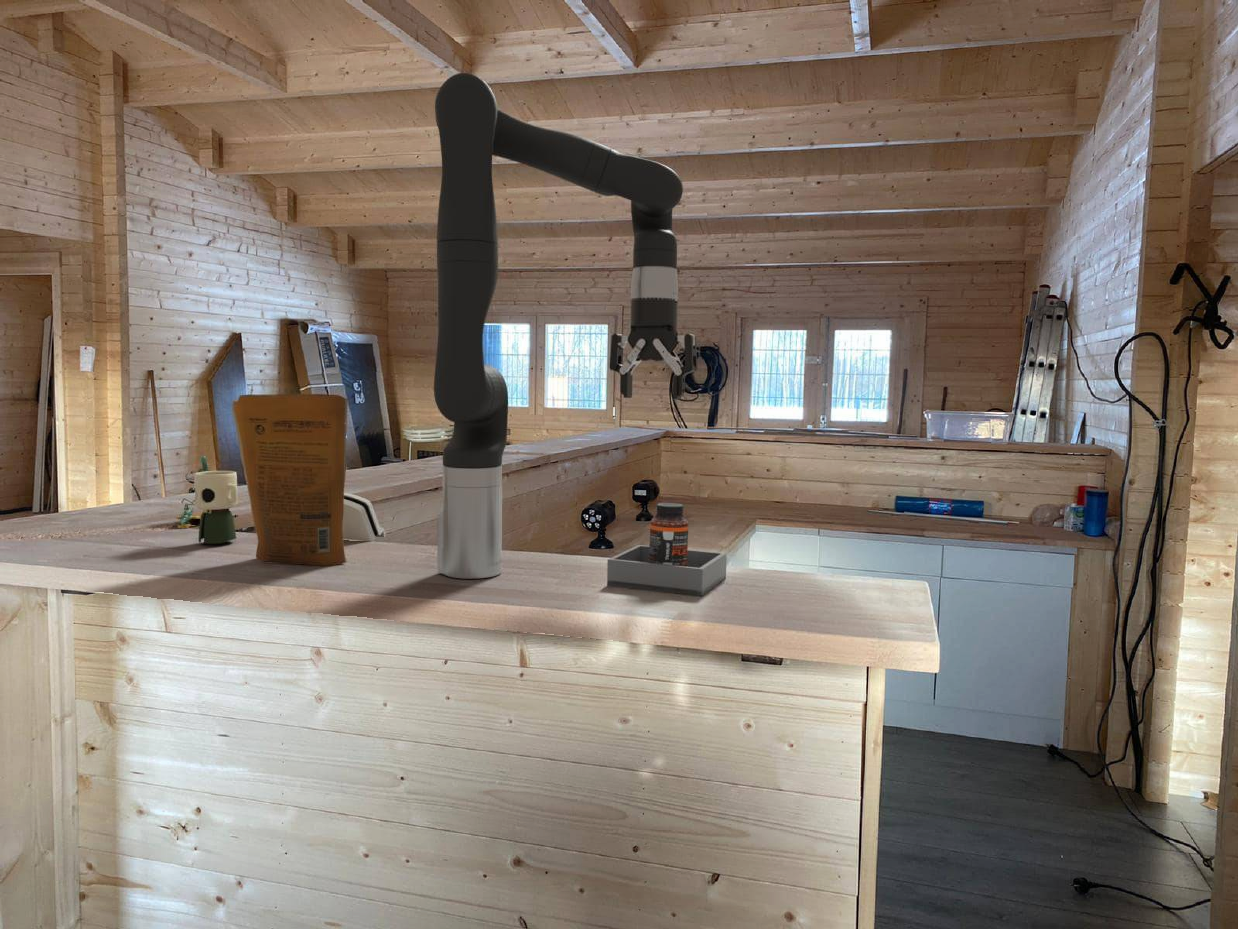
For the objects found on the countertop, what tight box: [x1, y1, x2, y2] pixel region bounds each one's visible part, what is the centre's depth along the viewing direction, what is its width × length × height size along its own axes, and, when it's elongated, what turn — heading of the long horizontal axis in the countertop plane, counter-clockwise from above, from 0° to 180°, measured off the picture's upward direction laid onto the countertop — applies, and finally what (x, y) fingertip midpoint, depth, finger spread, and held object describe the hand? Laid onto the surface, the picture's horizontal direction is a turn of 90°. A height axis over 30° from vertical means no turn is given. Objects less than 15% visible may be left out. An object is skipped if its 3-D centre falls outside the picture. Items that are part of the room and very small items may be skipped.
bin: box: [606, 544, 728, 597], centre depth 137 cm, size 15×13×4 cm
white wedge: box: [342, 491, 386, 542], centre depth 169 cm, size 17×5×10 cm, turn 71°
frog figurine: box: [175, 455, 223, 529], centre depth 184 cm, size 10×18×15 cm, turn 160°
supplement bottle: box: [648, 502, 689, 567], centre depth 136 cm, size 6×6×11 cm
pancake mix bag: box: [231, 393, 349, 567], centre depth 145 cm, size 7×19×28 cm, turn 79°
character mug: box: [193, 470, 238, 545], centre depth 160 cm, size 11×7×13 cm, turn 61°
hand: (652, 398), depth 143 cm, fingers open, 8 cm apart
